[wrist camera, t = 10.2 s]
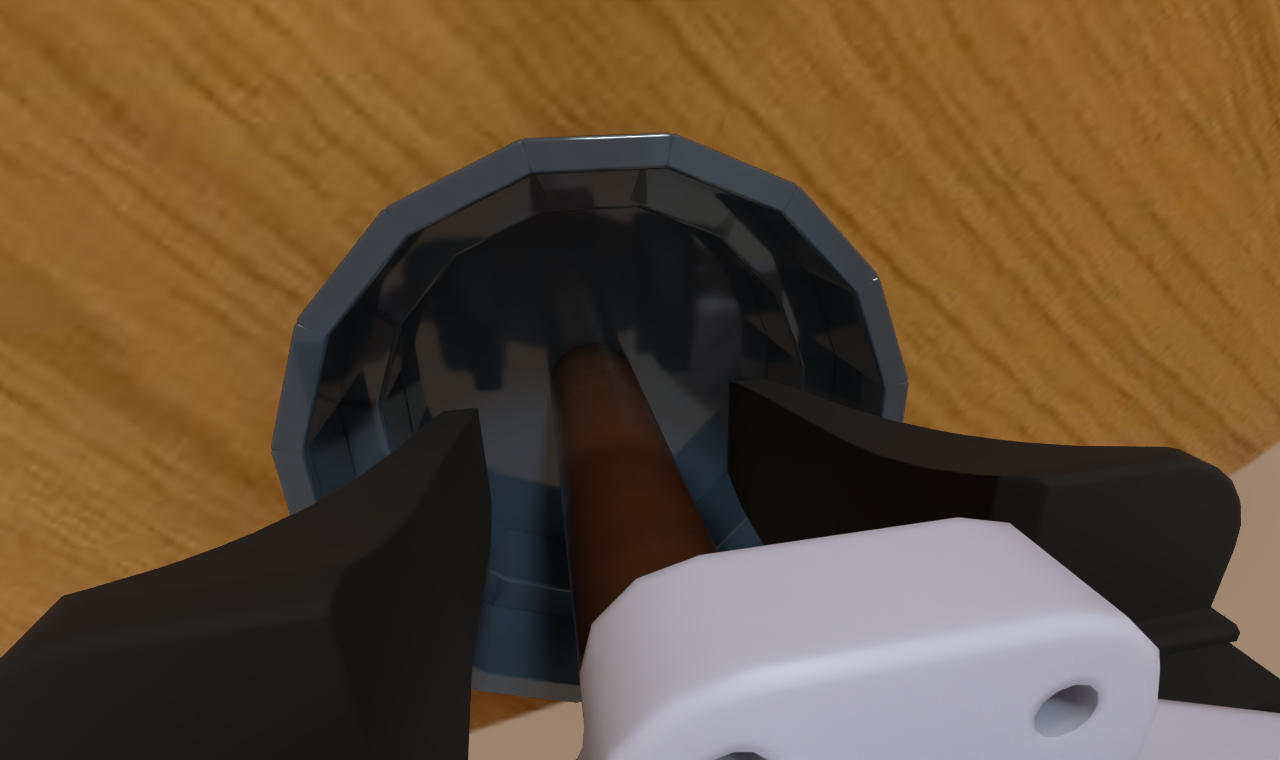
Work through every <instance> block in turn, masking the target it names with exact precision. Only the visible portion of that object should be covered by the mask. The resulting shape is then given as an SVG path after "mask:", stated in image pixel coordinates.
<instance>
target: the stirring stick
mask: <svg viewBox="0 0 1280 760" xmlns="http://www.w3.org/2000/svg"><path fill="white" fill-rule="evenodd" d="M550 394H551V404H552V414H553V423H554V433H555V443H556V453H557V463H558V472H559V482H560V492H561V502H562V511H563V521H564V531H565V541H566V551H567V560H568V570H569V580H570V590H571V600H572V609H573V619H574V629H575V639H576V649H577V658H578V668H579V674H580V670H581V666H582V662H583V658H584V653H585V649H586V645H587V641H588V637H589V633H590V629H591V625H592V623H593V622H594V621H595V620H596V619H597V618H598V617H599V616H600V615H601V614H602V613H603V612H604V611H605V610H606V609H607V608H608V607H609V606H610V605H611V604H612V603H613V602H614V601H615V600H616V599H617V598H618V597H619V596H620V595H621V594H622V593H623V592H624V591H625V590H626V589H627V588H628V587H629V586H630V585H631V584H632V583H633V582H634V581H635V580H636V579H637V578H640V577H642V576H645V575H648V574H650V573H653V572H656V571H659V570H661V569H664V568H667V567H669V566H672V565H675V564H677V563H680V562H683V561H685V560H688V559H691V558H693V557H696V556H699V555H704V554H711V553H718V551H717V548H716V546H715V544H714V542H713V540H712V538H711V536H710V533H709V531H708V529H707V527H706V525H705V523H704V521H703V518H702V516H701V514H700V512H699V510H698V508H697V506H696V504H695V501H694V499H693V497H692V495H691V493H690V491H689V489H688V486H687V484H686V482H685V480H684V478H683V476H682V474H681V471H680V469H679V467H678V465H677V463H676V461H675V459H674V456H673V454H672V452H671V450H670V448H669V446H668V444H667V442H666V439H665V437H664V435H663V433H662V431H661V429H660V427H659V424H658V422H657V420H656V418H655V416H654V414H653V412H652V409H651V407H650V405H649V403H648V401H647V399H646V397H645V394H644V392H643V390H642V388H641V386H640V384H639V382H638V379H637V377H636V375H635V373H634V371H633V369H632V367H631V365H630V363H629V361H628V360H627V359H626V358H625V357H624V356H623V355H622V354H621V353H620V352H618V351H617V350H615V349H613V348H611V347H608V346H605V345H598V344H589V345H584V346H580V347H577V348H575V349H573V350H571V351H569V352H568V353H567V354H565V355H564V356H563V357H562V358H561V359H560V360H559V361H558V363H557V364H556V366H555V367H554V369H553V372H552V375H551V379H550ZM579 678H580V675H579ZM580 688H581V685H580ZM581 698H582V695H581ZM582 707H583V705H582ZM583 717H584V715H583Z"/></svg>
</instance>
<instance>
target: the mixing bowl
mask: <svg viewBox="0 0 1280 760" xmlns="http://www.w3.org/2000/svg"><path fill="white" fill-rule="evenodd" d="M589 344H598V345H605V346H608V347H611V348H613V349H615V350H617V351H618V352H620V353H621V354H622V355H623V356H624V357H625V358H626V359H627V360H628V361H629V363H630V365H631V367H632V369H633V371H634V373H635V375H636V377H637V379H638V382H639V384H640V386H641V388H642V390H643V392H644V394H645V397H646V399H647V401H648V403H649V405H650V407H651V409H652V412H653V414H654V416H655V418H656V420H657V422H658V424H659V427H660V429H661V431H662V433H663V435H664V437H665V439H666V442H667V444H668V446H669V448H670V450H671V452H672V454H673V456H674V459H675V461H676V463H677V465H678V467H679V469H680V471H681V474H682V476H683V478H684V480H685V482H686V484H687V486H688V489H689V491H690V493H691V495H692V497H693V499H694V501H695V504H696V506H697V508H698V510H699V512H700V514H701V516H702V518H703V521H704V523H705V525H706V527H707V529H708V531H709V533H710V536H711V538H712V540H713V542H714V544H715V546H716V548H717V551H718V552H725V551H731V550H738V549H745V548H752V547H759V546H764V545H763V543H762V541H761V540H760V538H759V536H758V535H757V533H756V531H755V530H754V528H753V526H752V525H751V523H750V521H749V520H748V518H747V516H746V514H745V513H744V511H743V509H742V507H741V504H740V502H739V500H738V497H737V495H736V493H735V490H734V487H733V485H732V482H731V480H730V477H729V475H728V472H727V459H728V407H729V381H739V380H748V379H758V378H759V379H766V380H770V381H774V382H777V383H780V384H783V385H786V386H789V387H792V388H795V389H798V390H801V391H803V392H806V393H809V394H812V395H815V396H817V397H820V398H823V399H826V400H829V401H832V402H835V403H837V404H840V405H843V406H846V407H849V408H852V409H856V410H859V411H862V412H866V413H869V414H872V415H876V416H879V417H882V418H886V419H890V420H893V421H897V422H901V423H903V419H904V412H905V405H906V398H907V391H908V381H907V380H908V376H907V373H906V369H905V366H904V362H903V359H902V355H901V352H900V348H899V345H898V341H897V338H896V334H895V331H894V327H893V324H892V320H891V317H890V313H889V310H888V306H887V303H886V299H885V296H884V292H883V289H882V285H881V282H880V278H879V277H878V275H877V273H876V272H875V270H874V269H873V268H872V267H871V266H870V265H869V264H868V263H867V261H866V260H865V259H864V258H863V257H862V256H861V255H860V254H859V252H858V251H857V250H856V249H855V248H854V247H853V246H852V245H851V243H850V242H849V241H848V240H847V239H846V238H845V237H844V236H843V234H842V233H841V232H840V231H839V230H838V229H837V228H836V227H835V225H834V224H833V223H832V222H831V221H830V220H829V219H828V218H827V216H826V215H825V214H824V213H823V212H822V211H821V210H820V209H819V207H818V206H817V205H816V204H815V203H814V202H813V201H812V200H811V199H810V197H809V196H808V195H807V194H806V193H805V192H804V191H803V190H802V188H801V187H798V186H797V185H796V184H795V183H793V182H790V181H788V180H786V179H783V178H781V177H778V176H776V175H774V174H771V173H769V172H766V171H764V170H761V169H759V168H757V167H754V166H752V165H749V164H747V163H745V162H742V161H740V160H737V159H735V158H733V157H730V156H728V155H725V154H723V153H720V152H718V151H716V150H713V149H711V148H708V147H706V146H704V145H701V144H699V143H696V142H694V141H691V140H689V139H687V138H684V137H682V136H679V135H677V134H670V133H639V134H613V135H588V136H563V137H539V138H524V139H523V140H522V139H520V140H517V141H515V142H513V143H511V144H509V145H507V146H505V147H503V148H501V149H499V150H497V151H495V152H493V153H491V154H489V155H487V156H485V157H483V158H481V159H480V160H478V161H476V162H474V163H472V164H470V165H468V166H466V167H464V168H462V169H460V170H458V171H456V172H454V173H452V174H450V175H448V176H446V177H444V178H442V179H440V180H438V181H436V182H434V183H432V184H430V185H428V186H426V187H424V188H422V189H420V190H418V191H416V192H414V193H412V194H410V195H408V196H406V197H404V198H402V199H400V200H398V201H396V202H394V203H392V204H390V205H388V206H387V207H386V209H384V210H382V211H381V212H380V213H379V214H378V216H377V217H376V218H375V220H374V221H373V222H372V223H371V225H370V226H369V227H368V229H367V230H366V231H365V232H364V234H363V235H362V236H361V238H360V239H359V240H358V241H357V243H356V244H355V245H354V247H353V248H352V249H351V250H350V252H349V253H348V254H347V255H346V257H345V258H344V259H343V261H342V262H341V263H340V264H339V266H338V267H337V268H336V270H335V271H334V272H333V273H332V275H331V276H330V277H329V279H328V280H327V281H326V282H325V284H324V285H323V286H322V288H321V289H320V290H319V291H318V293H317V294H316V295H315V297H314V298H313V299H312V300H311V302H310V303H309V304H308V305H307V307H306V308H305V309H304V311H303V312H302V313H301V314H300V316H299V317H298V318H297V323H296V324H295V325H294V329H293V334H292V340H291V345H290V350H289V355H288V360H287V366H286V371H285V376H284V381H283V386H282V392H281V397H280V402H279V407H278V412H277V418H276V423H275V428H274V433H273V439H272V444H271V447H272V456H273V459H274V463H275V466H276V469H277V473H278V476H279V479H280V483H281V486H282V489H283V492H284V496H285V499H286V502H287V506H288V509H289V512H290V515H293V514H295V513H297V512H299V511H301V510H303V509H305V508H307V507H309V506H311V505H313V504H314V503H316V502H318V501H320V500H321V499H323V498H325V497H327V496H328V495H330V494H332V493H334V492H335V491H337V490H339V489H340V488H342V487H344V486H345V485H347V484H348V483H350V482H351V481H353V480H355V479H356V478H358V477H359V476H360V475H362V474H363V473H365V472H366V471H367V470H369V469H370V468H371V467H373V466H374V465H376V464H377V463H378V462H380V461H381V460H382V459H384V458H385V457H387V456H388V455H389V454H391V453H392V452H393V451H395V450H396V449H397V448H398V447H400V446H401V445H402V444H403V443H404V442H406V441H407V440H408V439H409V438H411V437H412V436H413V435H414V434H415V433H417V432H418V431H419V430H420V429H421V428H423V427H424V426H425V425H426V424H427V423H429V422H430V421H431V420H432V419H433V418H435V417H436V416H437V415H439V414H440V413H442V412H443V411H449V410H459V409H469V408H478V413H479V419H480V426H481V433H482V439H483V446H484V452H485V459H486V466H487V472H488V479H489V485H490V492H491V499H492V530H491V549H490V555H489V562H488V568H487V574H486V581H485V587H484V593H483V599H482V605H481V611H480V617H479V623H478V629H477V635H476V642H475V649H474V658H473V666H472V683H471V689H476V690H477V691H483V692H491V693H500V694H508V695H516V696H525V697H533V698H542V699H550V700H558V701H567V702H575V703H578V702H582V698H581V688H580V678H579V668H578V658H577V649H576V639H575V629H574V619H573V609H572V600H571V590H570V580H569V570H568V560H567V551H566V541H565V531H564V521H563V511H562V502H561V492H560V482H559V472H558V463H557V453H556V443H555V433H554V423H553V414H552V404H551V394H550V379H551V375H552V372H553V369H554V367H555V366H556V364H557V363H558V361H559V360H560V359H561V358H562V357H563V356H564V355H565V354H567V353H568V352H569V351H571V350H573V349H575V348H577V347H580V346H584V345H589Z"/></svg>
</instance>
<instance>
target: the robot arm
mask: <svg viewBox="0 0 1280 760" xmlns="http://www.w3.org/2000/svg"><path fill="white" fill-rule="evenodd" d="M727 472H728V475H729V477H730V480H731V482H732V485H733V487H734V490H735V493H736V495H737V497H738V500H739V502H740V504H741V507H742V509H743V511H744V513H745V514H746V516H747V518H748V520H749V521H750V523H751V525H752V526H753V528H754V530H755V531H756V533H757V535H758V536H759V538H760V540H761V541H762V543H763V545H764V546H759V547H752V548H745V549H738V550H731V551H725V552H718V553H711V554H704V555H699V556H696V557H693V558H691V559H688V560H685V561H683V562H680V563H677V564H675V565H672V566H669V567H667V568H664V569H661V570H659V571H656V572H653V573H650V574H648V575H645V576H642V577H640V578H637V579H636V580H635V581H634V582H633V583H632V584H631V585H630V586H629V587H628V588H627V589H626V590H625V591H624V592H623V593H622V594H621V595H620V596H619V597H618V598H617V599H616V600H615V601H614V602H613V603H612V604H611V605H610V606H609V607H608V608H607V609H606V610H605V611H604V612H603V613H602V614H601V615H600V616H599V617H598V618H597V619H596V620H595V621H594V622H593V623H592V625H591V629H590V633H589V637H588V641H587V645H586V649H585V653H584V658H583V662H582V666H581V670H580V674H579V675H580V685H581V695H582V705H583V715H584V737H583V748H582V750H581V752H580V754H579V756H578V758H577V759H576V760H1280V679H1279V678H1278V677H1276V676H1275V675H1274V674H1272V673H1271V672H1270V671H1268V670H1267V669H1265V668H1264V667H1263V666H1261V665H1260V664H1258V663H1257V662H1256V661H1254V660H1253V659H1251V658H1250V657H1249V656H1247V655H1246V654H1244V653H1243V652H1241V651H1240V650H1239V649H1237V648H1236V647H1235V646H1233V645H1232V644H1230V643H1229V642H1234V641H1237V639H1238V636H1239V634H1240V631H1239V629H1238V627H1237V625H1236V624H1235V623H1233V622H1232V621H1230V620H1229V619H1227V618H1226V617H1224V616H1223V615H1221V614H1220V613H1219V612H1217V611H1216V610H1214V609H1213V608H1211V605H1212V603H1213V600H1214V597H1215V595H1216V592H1217V590H1218V588H1219V585H1220V583H1221V580H1222V578H1223V575H1224V573H1225V570H1226V568H1227V565H1228V563H1229V560H1230V558H1231V555H1232V553H1233V550H1234V548H1235V545H1236V541H1237V537H1238V534H1239V530H1240V526H1241V505H1240V499H1239V496H1238V494H1237V492H1236V489H1235V487H1234V484H1233V482H1232V480H1231V479H1230V478H1228V477H1227V476H1226V475H1225V474H1224V473H1223V472H1222V471H1221V470H1220V469H1219V468H1217V467H1215V466H1213V465H1211V464H1209V463H1207V462H1204V461H1202V460H1200V459H1198V458H1196V457H1194V456H1192V455H1190V454H1188V453H1186V452H1183V451H1181V450H1179V449H1175V448H1170V447H1126V446H1070V445H1055V444H1040V443H1026V442H1016V441H1006V440H997V439H990V438H982V437H975V436H968V435H961V434H955V433H949V432H943V431H938V430H933V429H929V428H924V427H919V426H915V425H910V424H906V423H901V422H897V421H893V420H890V419H886V418H882V417H879V416H876V415H872V414H869V413H866V412H862V411H859V410H856V409H852V408H849V407H846V406H843V405H840V404H837V403H835V402H832V401H829V400H826V399H823V398H820V397H817V396H815V395H812V394H809V393H806V392H803V391H801V390H798V389H795V388H792V387H789V386H786V385H783V384H780V383H777V382H774V381H770V380H766V379H759V378H758V379H748V380H739V381H729V407H728V459H727ZM491 530H492V499H491V492H490V485H489V479H488V472H487V466H486V459H485V452H484V446H483V439H482V433H481V426H480V419H479V413H478V408H469V409H459V410H449V411H443V412H442V413H440V414H439V415H437V416H436V417H435V418H433V419H432V420H431V421H430V422H429V423H427V424H426V425H425V426H424V427H423V428H421V429H420V430H419V431H418V432H417V433H415V434H414V435H413V436H412V437H411V438H409V439H408V440H407V441H406V442H404V443H403V444H402V445H401V446H400V447H398V448H397V449H396V450H395V451H393V452H392V453H391V454H389V455H388V456H387V457H385V458H384V459H382V460H381V461H380V462H378V463H377V464H376V465H374V466H373V467H371V468H370V469H369V470H367V471H366V472H365V473H363V474H362V475H360V476H359V477H358V478H356V479H355V480H353V481H351V482H350V483H348V484H347V485H345V486H344V487H342V488H340V489H339V490H337V491H335V492H334V493H332V494H330V495H328V496H327V497H325V498H323V499H321V500H320V501H318V502H316V503H314V504H313V505H311V506H309V507H307V508H305V509H303V510H301V511H299V512H297V513H295V514H293V515H290V516H288V517H286V518H284V519H282V520H280V521H278V522H276V523H273V524H271V525H269V526H267V527H265V528H263V529H261V530H259V531H257V532H254V533H252V534H250V535H247V536H245V537H243V538H240V539H238V540H235V541H233V542H230V543H228V544H225V545H223V546H220V547H217V548H215V549H212V550H209V551H207V552H204V553H201V554H198V555H196V556H193V557H190V558H187V559H185V560H182V561H179V562H176V563H173V564H170V565H167V566H164V567H161V568H158V569H154V570H151V571H148V572H144V573H141V574H137V575H134V576H131V577H127V578H124V579H121V580H117V581H114V582H110V583H107V584H104V585H100V586H97V587H94V588H90V589H87V590H83V591H79V592H76V593H72V594H68V595H64V596H62V597H61V598H60V599H59V600H58V601H57V602H56V603H55V604H54V605H53V606H52V607H51V608H50V609H49V610H48V611H47V612H46V613H45V614H44V615H43V616H42V617H41V618H40V619H39V620H38V621H37V622H36V623H35V624H34V625H33V626H32V627H31V628H30V629H29V630H28V631H27V632H26V633H25V634H24V635H23V636H22V637H21V638H20V639H19V640H18V641H17V642H16V643H15V644H14V645H13V646H12V647H11V648H10V649H9V650H8V651H7V652H6V653H5V654H4V655H3V656H2V657H1V658H0V760H468V745H469V722H470V702H471V683H472V666H473V658H474V649H475V642H476V635H477V629H478V623H479V617H480V611H481V605H482V599H483V593H484V587H485V581H486V574H487V568H488V562H489V555H490V549H491Z"/></svg>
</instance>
